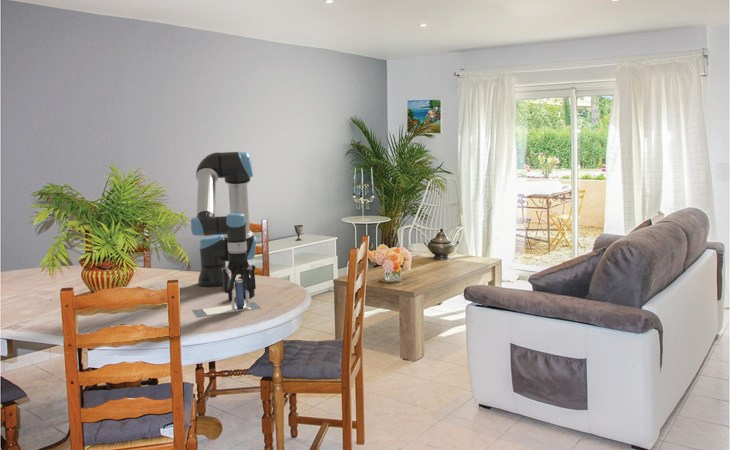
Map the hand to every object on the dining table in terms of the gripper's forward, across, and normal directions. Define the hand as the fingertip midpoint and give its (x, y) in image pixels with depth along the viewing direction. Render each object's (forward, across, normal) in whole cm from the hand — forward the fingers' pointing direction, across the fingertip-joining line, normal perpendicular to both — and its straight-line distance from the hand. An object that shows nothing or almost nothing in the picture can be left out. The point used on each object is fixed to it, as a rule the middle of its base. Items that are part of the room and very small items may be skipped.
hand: (240, 307), depth 258 cm
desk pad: (+1, -5, +3) cm, 6 cm away
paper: (+1, -5, +3) cm, 6 cm away
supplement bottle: (+1, +8, +20) cm, 22 cm away
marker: (+1, 0, 0) cm, 1 cm away
